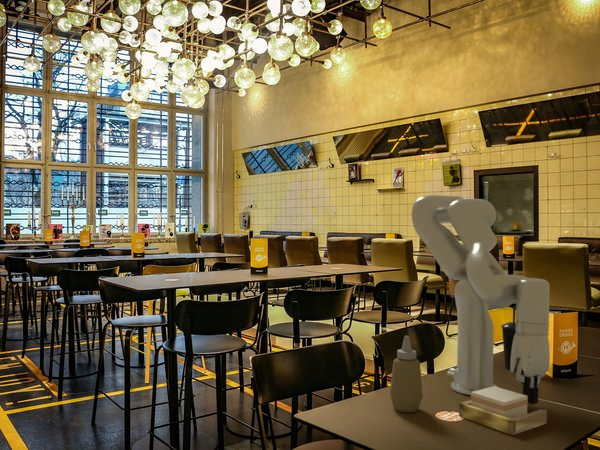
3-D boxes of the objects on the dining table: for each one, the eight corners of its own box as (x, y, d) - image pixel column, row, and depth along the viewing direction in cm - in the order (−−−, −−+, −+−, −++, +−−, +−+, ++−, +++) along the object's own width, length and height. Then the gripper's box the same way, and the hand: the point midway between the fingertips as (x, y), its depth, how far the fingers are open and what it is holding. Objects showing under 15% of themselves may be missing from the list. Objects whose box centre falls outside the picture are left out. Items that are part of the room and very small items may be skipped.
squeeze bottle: (382, 405, 138) (384, 334, 138) (410, 402, 142) (411, 332, 142) (401, 416, 131) (402, 340, 131) (429, 412, 134) (430, 338, 134)
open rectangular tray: (458, 415, 132) (459, 403, 132) (492, 406, 140) (493, 394, 140) (512, 435, 120) (512, 421, 120) (546, 423, 128) (546, 410, 128)
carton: (470, 417, 132) (470, 392, 132) (493, 410, 137) (494, 386, 137) (503, 429, 125) (504, 402, 125) (527, 421, 130) (527, 395, 130)
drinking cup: (529, 372, 173) (531, 308, 173) (505, 371, 173) (506, 307, 173) (520, 365, 181) (521, 304, 181) (497, 365, 181) (498, 304, 181)
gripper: (535, 323, 144) (534, 393, 144) (500, 328, 136) (498, 403, 136) (563, 328, 138) (561, 401, 138) (527, 334, 130) (525, 412, 130)
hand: (530, 402), depth 137 cm, fingers closed
